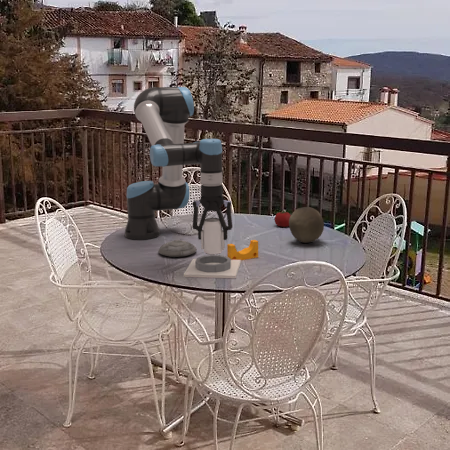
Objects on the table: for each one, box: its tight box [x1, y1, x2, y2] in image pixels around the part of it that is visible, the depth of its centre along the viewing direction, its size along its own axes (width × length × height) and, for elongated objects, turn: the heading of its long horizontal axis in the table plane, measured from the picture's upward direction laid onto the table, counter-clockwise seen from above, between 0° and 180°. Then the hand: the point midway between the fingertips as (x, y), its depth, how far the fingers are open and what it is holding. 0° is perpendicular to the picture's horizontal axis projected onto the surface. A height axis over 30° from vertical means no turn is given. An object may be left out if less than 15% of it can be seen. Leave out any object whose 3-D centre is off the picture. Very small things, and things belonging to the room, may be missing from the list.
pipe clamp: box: [226, 239, 259, 261], centre depth 222 cm, size 12×4×6 cm, turn 119°
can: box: [202, 217, 223, 255], centre depth 207 cm, size 6×6×12 cm
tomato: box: [274, 210, 292, 228], centre depth 269 cm, size 8×8×7 cm
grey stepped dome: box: [158, 239, 197, 258], centre depth 230 cm, size 15×15×6 cm
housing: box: [183, 254, 242, 279], centre depth 209 cm, size 18×18×4 cm
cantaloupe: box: [288, 206, 325, 244], centre depth 239 cm, size 14×14×15 cm
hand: (213, 248), depth 208 cm, fingers closed on can, 6 cm apart
